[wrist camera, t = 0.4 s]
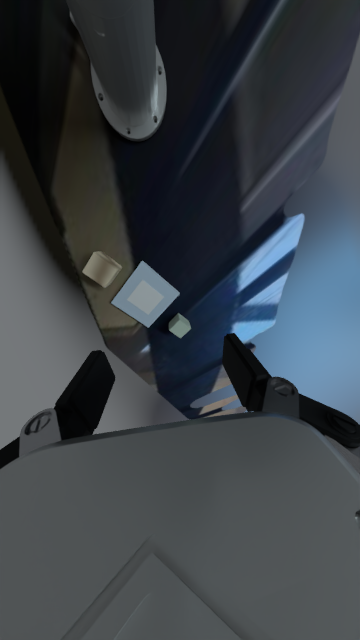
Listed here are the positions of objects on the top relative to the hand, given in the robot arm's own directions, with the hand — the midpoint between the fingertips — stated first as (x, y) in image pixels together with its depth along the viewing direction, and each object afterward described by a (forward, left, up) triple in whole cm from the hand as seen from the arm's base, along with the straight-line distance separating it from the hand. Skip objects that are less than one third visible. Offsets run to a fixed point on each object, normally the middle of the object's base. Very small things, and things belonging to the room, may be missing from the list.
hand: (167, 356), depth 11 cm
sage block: (+14, -10, -35) cm, 38 cm away
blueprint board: (0, -10, -34) cm, 36 cm away
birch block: (-13, -10, -35) cm, 38 cm away
